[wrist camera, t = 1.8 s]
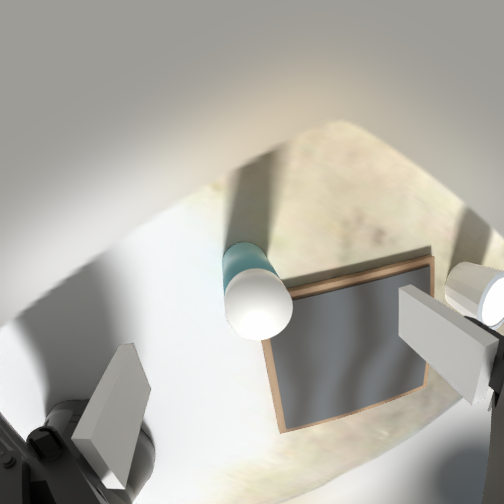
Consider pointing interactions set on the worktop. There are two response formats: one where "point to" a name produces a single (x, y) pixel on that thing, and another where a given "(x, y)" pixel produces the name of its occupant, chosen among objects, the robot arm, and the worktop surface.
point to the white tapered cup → (477, 292)
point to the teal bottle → (254, 293)
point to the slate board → (345, 346)
